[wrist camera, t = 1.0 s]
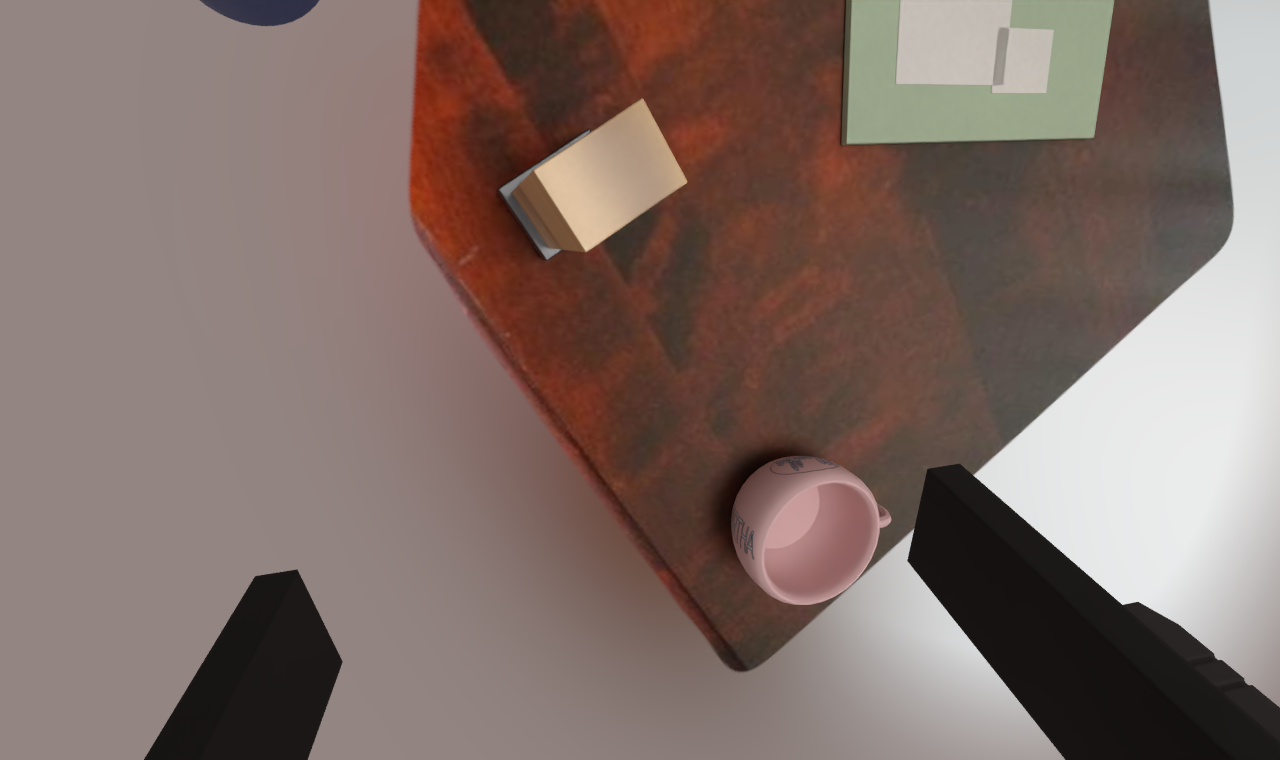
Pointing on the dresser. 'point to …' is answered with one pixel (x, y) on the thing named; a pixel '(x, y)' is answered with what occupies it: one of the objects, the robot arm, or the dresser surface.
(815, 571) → the mug
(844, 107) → the chalk board
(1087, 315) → the dresser surface
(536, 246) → the eraser
